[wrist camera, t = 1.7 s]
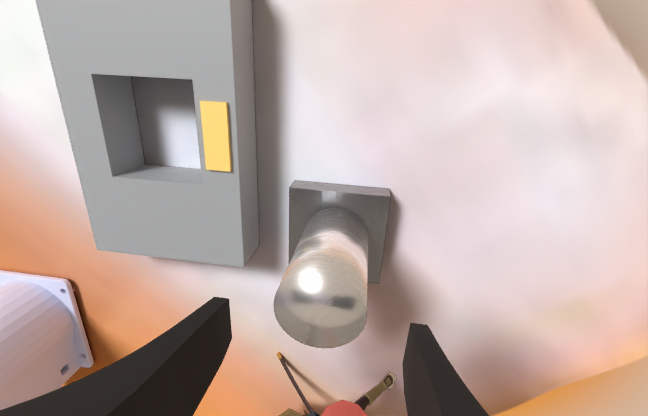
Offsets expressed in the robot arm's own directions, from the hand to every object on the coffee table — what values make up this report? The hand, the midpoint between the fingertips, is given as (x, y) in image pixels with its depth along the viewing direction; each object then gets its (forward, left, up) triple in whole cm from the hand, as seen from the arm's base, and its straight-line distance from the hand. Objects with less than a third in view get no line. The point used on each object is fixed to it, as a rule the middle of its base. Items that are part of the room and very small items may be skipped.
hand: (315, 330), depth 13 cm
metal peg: (0, 0, -8) cm, 8 cm away
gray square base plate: (0, 0, -10) cm, 10 cm away
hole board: (+6, +11, -10) cm, 16 cm away
